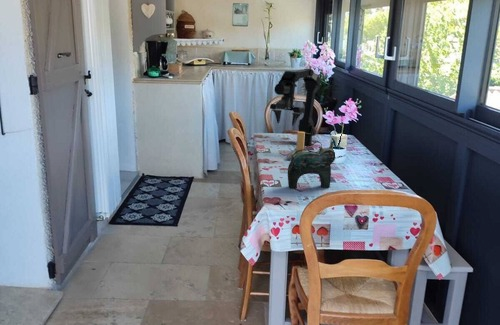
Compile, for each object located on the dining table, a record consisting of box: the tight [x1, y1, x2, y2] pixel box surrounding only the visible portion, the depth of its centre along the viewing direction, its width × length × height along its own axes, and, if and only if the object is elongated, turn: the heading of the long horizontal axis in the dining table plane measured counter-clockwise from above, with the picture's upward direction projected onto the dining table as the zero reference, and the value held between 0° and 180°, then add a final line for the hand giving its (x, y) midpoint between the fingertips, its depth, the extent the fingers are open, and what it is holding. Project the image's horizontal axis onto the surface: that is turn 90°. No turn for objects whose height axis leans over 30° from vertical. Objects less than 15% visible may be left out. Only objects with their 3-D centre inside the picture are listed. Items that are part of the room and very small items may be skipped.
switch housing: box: [286, 147, 308, 162], centre depth 236 cm, size 16×10×3 cm, turn 165°
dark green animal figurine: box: [287, 140, 336, 190], centre depth 188 cm, size 20×6×20 cm, turn 99°
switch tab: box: [295, 130, 305, 154], centre depth 237 cm, size 2×4×11 cm, turn 75°
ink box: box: [329, 133, 349, 150], centre depth 240 cm, size 9×5×12 cm, turn 129°
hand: (285, 124), depth 240 cm, fingers open, 9 cm apart
